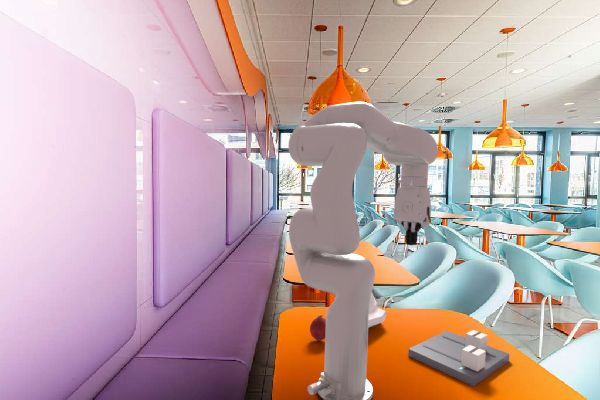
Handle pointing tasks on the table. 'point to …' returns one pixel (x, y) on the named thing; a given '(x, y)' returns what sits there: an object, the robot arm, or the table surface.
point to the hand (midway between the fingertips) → (411, 244)
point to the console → (456, 357)
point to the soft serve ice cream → (375, 313)
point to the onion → (318, 328)
